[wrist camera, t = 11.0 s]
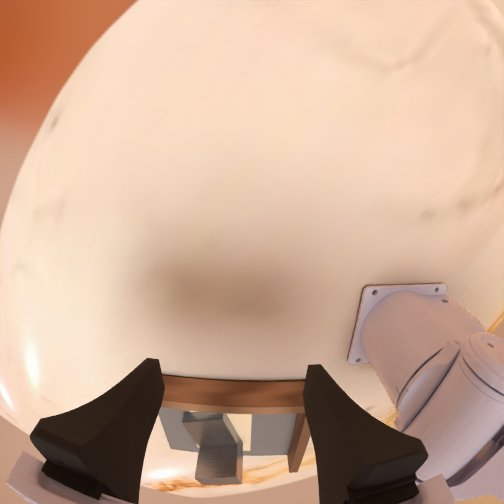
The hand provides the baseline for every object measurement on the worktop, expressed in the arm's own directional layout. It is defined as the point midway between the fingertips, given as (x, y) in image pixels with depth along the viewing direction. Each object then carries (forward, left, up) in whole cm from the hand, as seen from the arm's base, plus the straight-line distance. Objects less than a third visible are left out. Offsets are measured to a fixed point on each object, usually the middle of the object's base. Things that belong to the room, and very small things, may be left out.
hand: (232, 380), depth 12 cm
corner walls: (+1, +16, -9) cm, 19 cm away
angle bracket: (+3, +17, -9) cm, 19 cm away
